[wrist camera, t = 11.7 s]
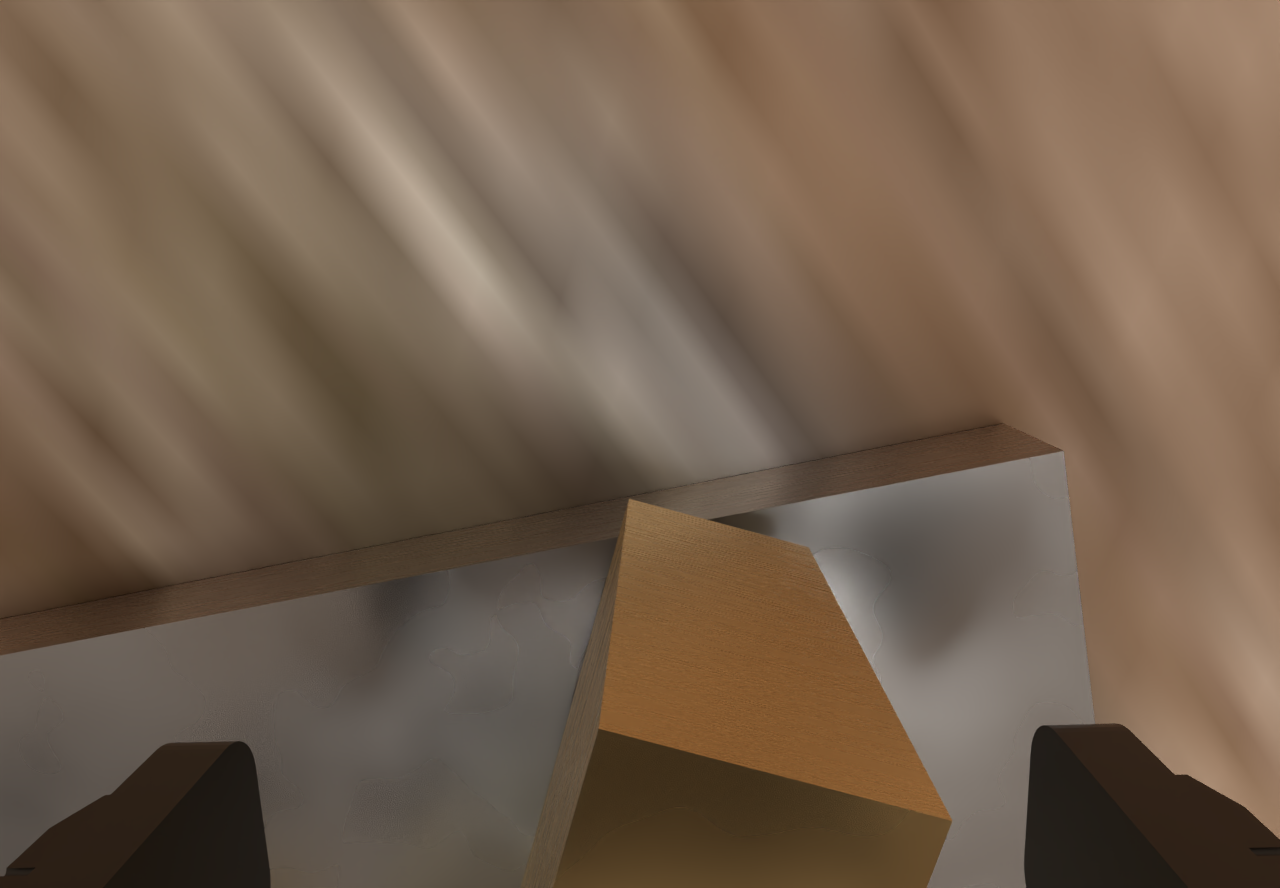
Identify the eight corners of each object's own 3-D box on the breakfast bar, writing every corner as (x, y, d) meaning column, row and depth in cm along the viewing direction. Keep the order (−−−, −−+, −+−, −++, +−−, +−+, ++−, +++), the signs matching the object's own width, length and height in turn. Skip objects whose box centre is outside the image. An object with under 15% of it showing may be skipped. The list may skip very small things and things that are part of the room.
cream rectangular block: (793, 518, 12) (996, 905, 5) (677, 877, 13) (700, 1628, 6) (632, 474, 11) (589, 797, 4) (530, 839, 13) (370, 1551, 6)
